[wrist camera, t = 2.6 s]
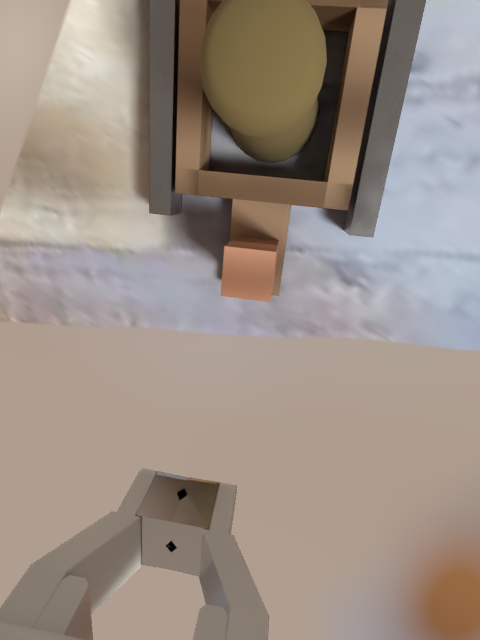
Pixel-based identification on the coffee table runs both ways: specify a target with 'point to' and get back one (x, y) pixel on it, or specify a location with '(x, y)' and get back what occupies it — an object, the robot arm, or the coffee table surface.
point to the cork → (265, 73)
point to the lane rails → (378, 127)
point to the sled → (261, 191)
